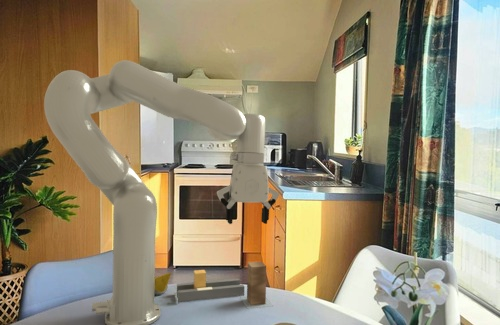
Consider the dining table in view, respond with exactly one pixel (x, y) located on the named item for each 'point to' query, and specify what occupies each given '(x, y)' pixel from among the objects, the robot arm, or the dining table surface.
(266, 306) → the mat
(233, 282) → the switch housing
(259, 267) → the wooden block
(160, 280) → the yellow-filled grey round bowl
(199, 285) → the switch tab
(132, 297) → the robot arm
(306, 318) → the dining table surface
